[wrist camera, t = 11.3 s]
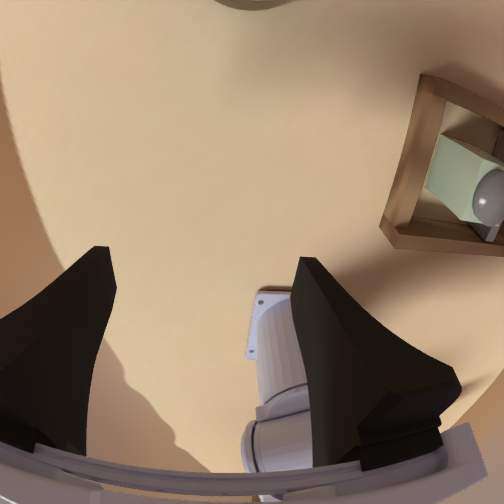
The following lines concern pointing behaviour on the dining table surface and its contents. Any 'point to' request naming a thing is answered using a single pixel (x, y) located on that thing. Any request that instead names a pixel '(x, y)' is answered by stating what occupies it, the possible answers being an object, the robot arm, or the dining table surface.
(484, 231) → the pusher plate
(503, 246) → the brown wooden shallow box
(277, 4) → the supplement bottle
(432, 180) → the jar
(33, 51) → the dining table surface
